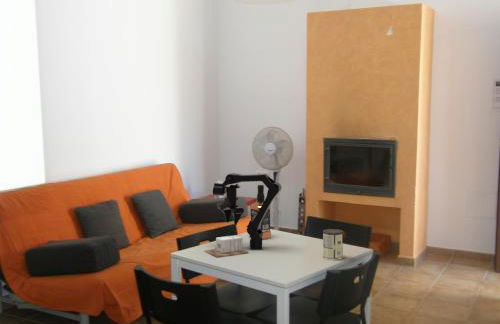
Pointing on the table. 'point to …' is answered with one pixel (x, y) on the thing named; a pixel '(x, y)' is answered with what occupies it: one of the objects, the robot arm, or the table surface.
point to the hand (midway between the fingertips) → (231, 223)
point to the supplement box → (229, 244)
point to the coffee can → (332, 244)
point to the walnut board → (218, 254)
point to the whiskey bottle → (266, 220)
